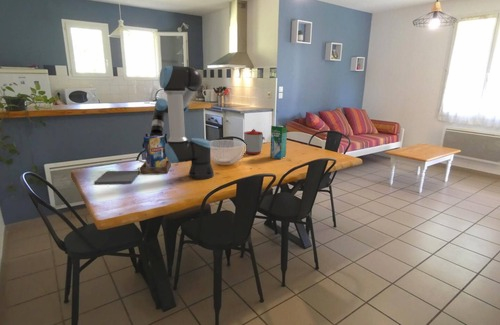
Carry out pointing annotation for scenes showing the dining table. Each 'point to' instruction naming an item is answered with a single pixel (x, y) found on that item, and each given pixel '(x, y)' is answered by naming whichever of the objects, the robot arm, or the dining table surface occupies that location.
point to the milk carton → (278, 141)
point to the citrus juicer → (253, 141)
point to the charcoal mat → (117, 177)
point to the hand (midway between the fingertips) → (154, 156)
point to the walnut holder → (155, 169)
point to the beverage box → (154, 151)
